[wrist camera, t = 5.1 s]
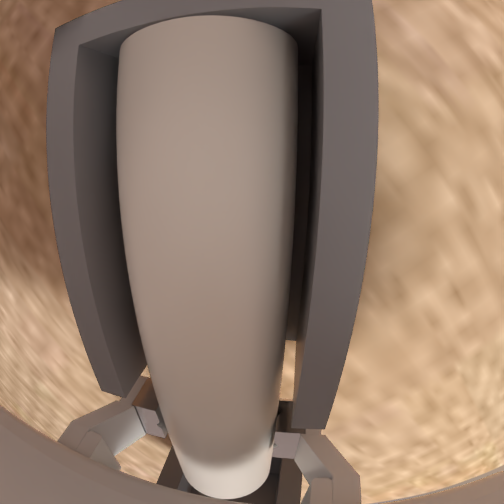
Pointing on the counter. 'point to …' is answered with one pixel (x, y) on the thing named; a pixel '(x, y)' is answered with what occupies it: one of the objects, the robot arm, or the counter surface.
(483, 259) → the counter surface
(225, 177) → the slip tube
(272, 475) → the socket
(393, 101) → the counter surface
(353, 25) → the sleeve
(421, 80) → the counter surface
